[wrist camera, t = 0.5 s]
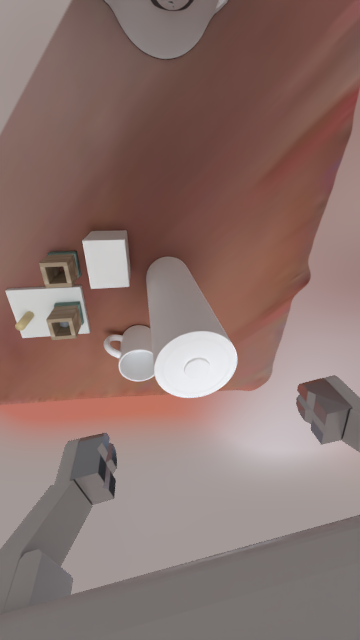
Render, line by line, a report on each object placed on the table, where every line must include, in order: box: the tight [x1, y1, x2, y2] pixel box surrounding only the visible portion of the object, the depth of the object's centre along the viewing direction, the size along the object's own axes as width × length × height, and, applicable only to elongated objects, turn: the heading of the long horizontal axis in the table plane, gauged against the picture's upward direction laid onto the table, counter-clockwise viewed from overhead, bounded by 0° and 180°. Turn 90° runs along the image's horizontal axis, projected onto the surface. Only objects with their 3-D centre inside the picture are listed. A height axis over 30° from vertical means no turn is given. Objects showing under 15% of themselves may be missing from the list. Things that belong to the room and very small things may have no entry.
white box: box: [82, 230, 131, 289], centre depth 45 cm, size 8×7×9 cm
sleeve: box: [39, 251, 81, 288], centre depth 45 cm, size 5×5×7 cm
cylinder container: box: [146, 257, 237, 398], centre depth 40 cm, size 9×9×30 cm
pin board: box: [5, 285, 91, 338], centre depth 50 cm, size 11×14×6 cm
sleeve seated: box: [46, 301, 84, 340], centre depth 49 cm, size 5×5×7 cm
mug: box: [104, 325, 155, 381], centre depth 54 cm, size 12×8×10 cm
